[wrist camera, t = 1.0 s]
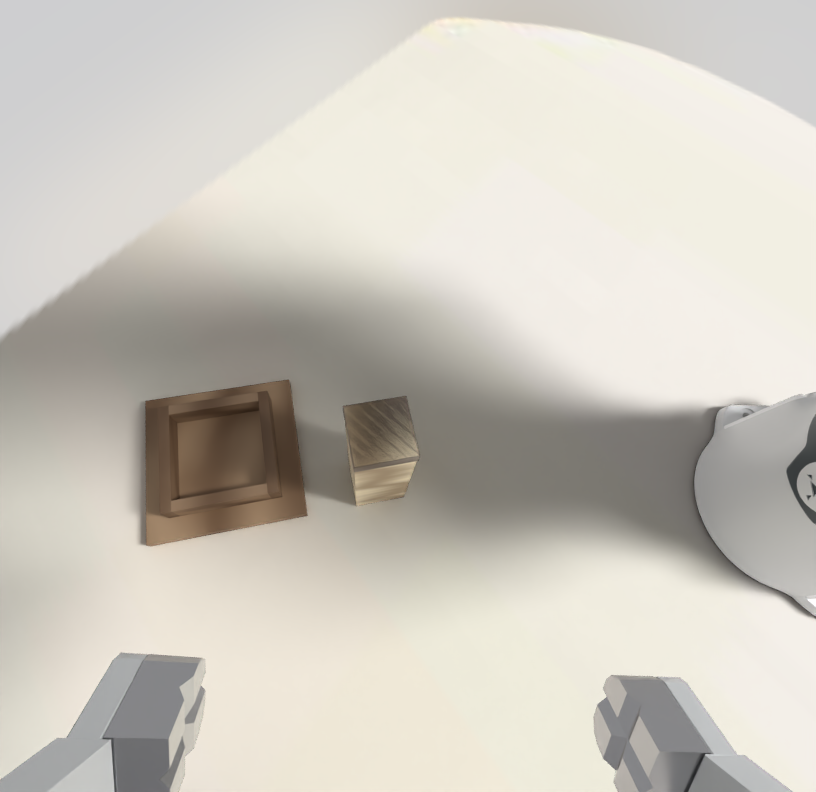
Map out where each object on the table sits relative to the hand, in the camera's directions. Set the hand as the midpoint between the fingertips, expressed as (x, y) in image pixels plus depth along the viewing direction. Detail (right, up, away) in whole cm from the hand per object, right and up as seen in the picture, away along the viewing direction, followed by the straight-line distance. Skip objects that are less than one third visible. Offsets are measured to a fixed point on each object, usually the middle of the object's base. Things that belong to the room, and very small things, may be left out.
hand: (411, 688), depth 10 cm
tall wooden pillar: (-3, -1, +31) cm, 32 cm away
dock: (-15, +1, +31) cm, 35 cm away
